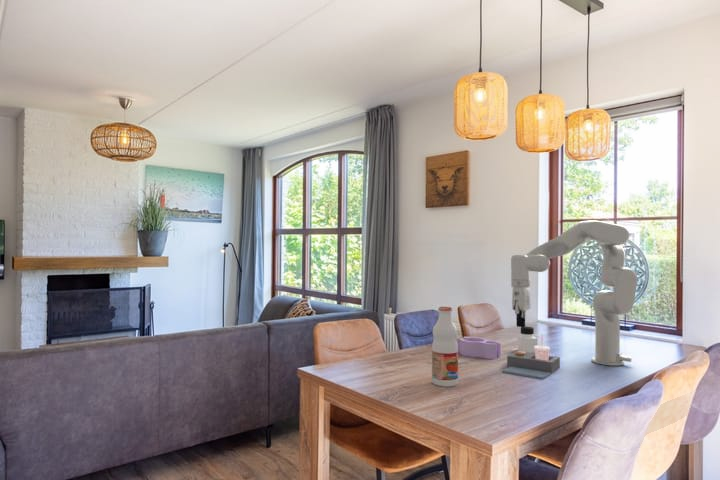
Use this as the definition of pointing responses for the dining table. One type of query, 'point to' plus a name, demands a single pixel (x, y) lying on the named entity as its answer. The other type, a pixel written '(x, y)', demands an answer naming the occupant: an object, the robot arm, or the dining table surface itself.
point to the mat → (526, 372)
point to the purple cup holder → (479, 347)
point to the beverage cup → (542, 351)
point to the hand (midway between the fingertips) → (520, 326)
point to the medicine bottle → (527, 340)
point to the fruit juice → (445, 350)
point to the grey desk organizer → (533, 362)
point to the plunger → (520, 352)
